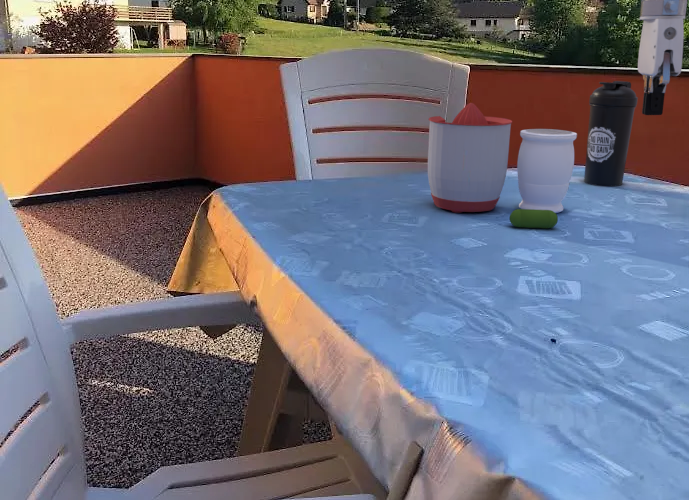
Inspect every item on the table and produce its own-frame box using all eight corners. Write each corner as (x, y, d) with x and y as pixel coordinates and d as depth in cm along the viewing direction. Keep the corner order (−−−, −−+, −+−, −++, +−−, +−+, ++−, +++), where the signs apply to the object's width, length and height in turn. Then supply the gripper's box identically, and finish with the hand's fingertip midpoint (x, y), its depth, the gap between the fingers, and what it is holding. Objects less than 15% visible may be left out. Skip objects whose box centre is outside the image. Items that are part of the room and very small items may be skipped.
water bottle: (571, 181, 165) (583, 80, 159) (593, 177, 172) (605, 79, 166) (612, 188, 158) (626, 83, 152) (634, 183, 165) (647, 82, 158)
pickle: (554, 226, 125) (556, 208, 124) (558, 230, 122) (560, 212, 121) (507, 224, 126) (509, 206, 125) (510, 228, 123) (511, 211, 122)
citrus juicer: (476, 195, 149) (483, 98, 143) (520, 214, 133) (530, 106, 128) (408, 198, 144) (412, 98, 139) (445, 218, 129) (452, 107, 123)
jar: (524, 201, 144) (531, 126, 140) (575, 208, 139) (584, 131, 135) (505, 210, 136) (511, 132, 132) (558, 218, 130) (567, 136, 126)
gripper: (701, 8, 119) (688, 118, 125) (669, 11, 134) (658, 110, 139) (655, 9, 120) (644, 119, 125) (628, 12, 134) (619, 111, 139)
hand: (652, 114), depth 132 cm, fingers closed
